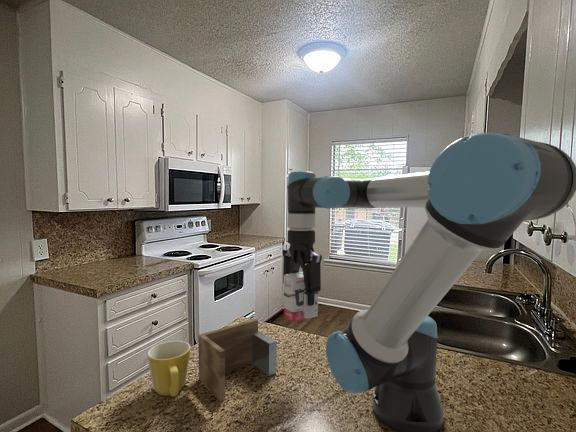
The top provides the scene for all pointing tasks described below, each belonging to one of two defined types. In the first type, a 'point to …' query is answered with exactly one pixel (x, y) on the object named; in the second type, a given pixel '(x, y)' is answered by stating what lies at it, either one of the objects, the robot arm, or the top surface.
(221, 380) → the wooden corner frame
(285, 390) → the top surface
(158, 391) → the mug
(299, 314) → the ink box
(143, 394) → the top surface
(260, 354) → the bookend
